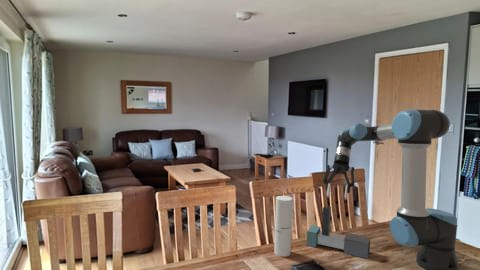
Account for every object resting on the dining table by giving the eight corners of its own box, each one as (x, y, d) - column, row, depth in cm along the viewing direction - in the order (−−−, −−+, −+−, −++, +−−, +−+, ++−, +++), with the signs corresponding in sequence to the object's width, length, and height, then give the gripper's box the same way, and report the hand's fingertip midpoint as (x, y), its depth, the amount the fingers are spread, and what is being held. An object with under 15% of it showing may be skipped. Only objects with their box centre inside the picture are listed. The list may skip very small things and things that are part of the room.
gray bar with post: (351, 247, 148) (353, 210, 146) (349, 251, 144) (351, 213, 142) (313, 238, 156) (314, 203, 154) (310, 242, 152) (311, 206, 150)
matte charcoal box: (369, 252, 145) (370, 237, 144) (367, 258, 139) (368, 243, 138) (346, 247, 150) (347, 232, 149) (343, 253, 144) (344, 238, 143)
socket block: (320, 240, 156) (320, 227, 156) (315, 247, 149) (316, 232, 148) (311, 239, 158) (312, 225, 158) (306, 245, 151) (307, 231, 150)
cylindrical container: (290, 257, 139) (292, 201, 137) (273, 255, 141) (275, 199, 138) (290, 250, 146) (292, 196, 144) (275, 248, 148) (276, 195, 145)
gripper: (363, 162, 167) (359, 203, 156) (323, 159, 176) (316, 197, 165) (362, 155, 161) (358, 196, 150) (321, 152, 171) (314, 191, 160)
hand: (336, 197), depth 158 cm, fingers open, 8 cm apart
